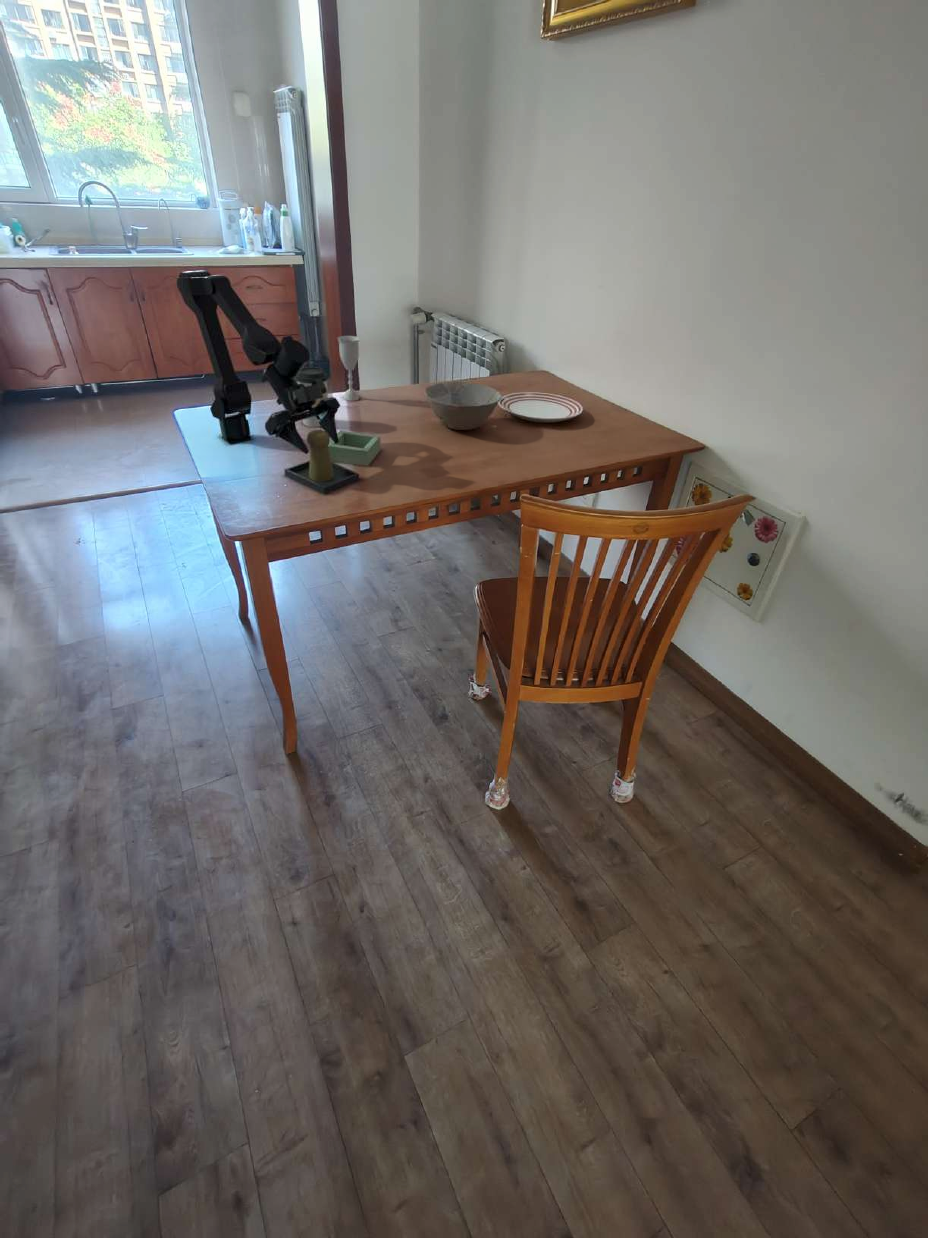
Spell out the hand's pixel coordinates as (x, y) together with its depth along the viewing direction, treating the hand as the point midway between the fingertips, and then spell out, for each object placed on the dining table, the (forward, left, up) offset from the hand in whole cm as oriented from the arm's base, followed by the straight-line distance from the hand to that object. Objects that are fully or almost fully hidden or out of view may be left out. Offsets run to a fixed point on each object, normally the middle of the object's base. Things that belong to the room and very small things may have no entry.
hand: (322, 447), depth 139 cm
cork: (0, +1, -8) cm, 8 cm away
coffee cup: (+17, +35, -8) cm, 40 cm away
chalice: (+38, +49, -8) cm, 62 cm away
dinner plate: (+83, +7, -8) cm, 84 cm away
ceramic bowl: (+53, +11, -8) cm, 55 cm away
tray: (0, +1, -8) cm, 8 cm away
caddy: (+14, +9, -8) cm, 18 cm away
